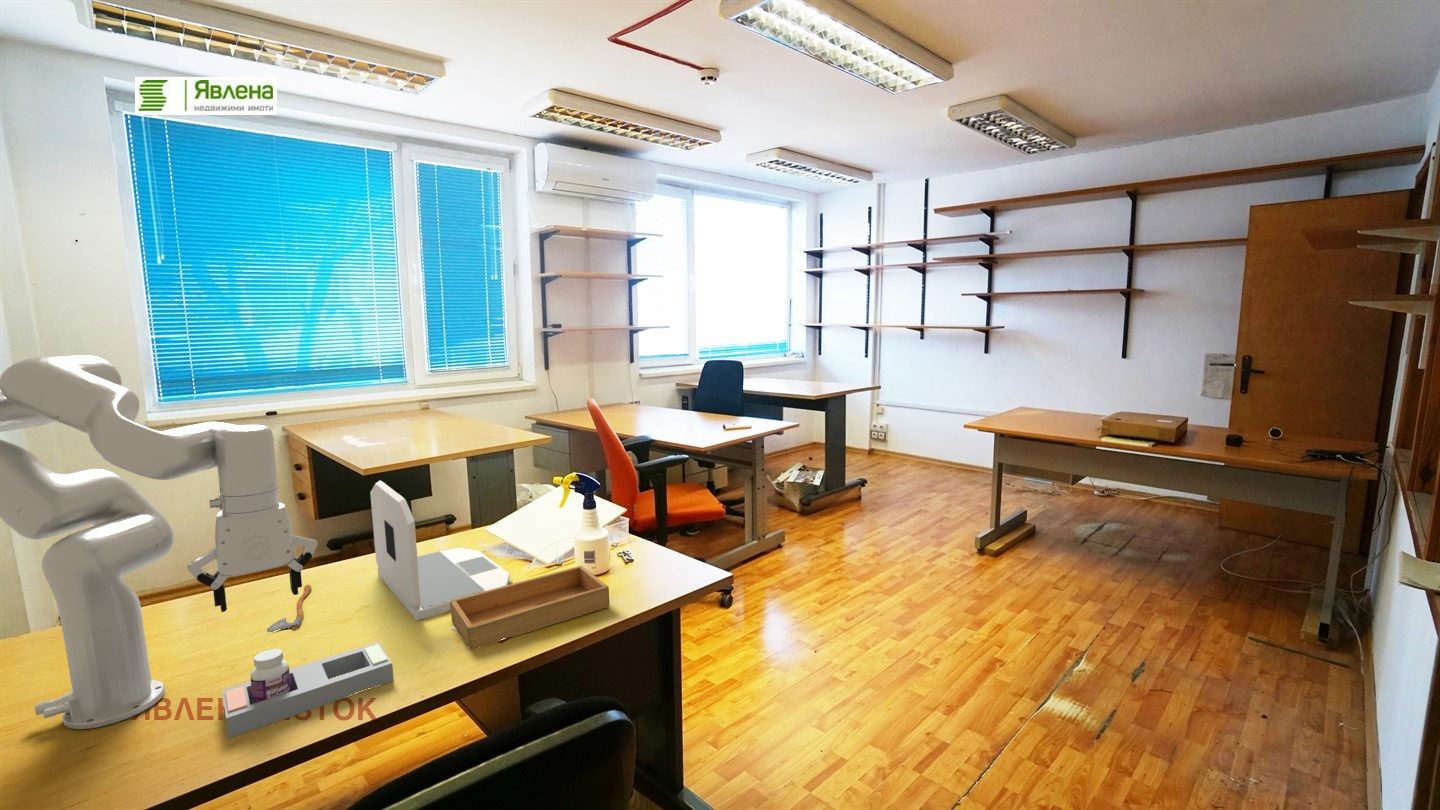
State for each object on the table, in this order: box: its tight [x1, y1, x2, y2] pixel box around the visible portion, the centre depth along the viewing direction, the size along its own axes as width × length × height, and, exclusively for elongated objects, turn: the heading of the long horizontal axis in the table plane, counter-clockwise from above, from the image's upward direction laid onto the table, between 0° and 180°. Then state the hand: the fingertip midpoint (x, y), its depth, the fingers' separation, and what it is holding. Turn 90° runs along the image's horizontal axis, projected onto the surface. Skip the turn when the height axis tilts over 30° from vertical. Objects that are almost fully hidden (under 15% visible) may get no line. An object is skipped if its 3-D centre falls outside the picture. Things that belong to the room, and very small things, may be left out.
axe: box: [266, 584, 312, 633], centre depth 143 cm, size 22×6×2 cm, turn 27°
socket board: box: [221, 641, 395, 739], centre depth 111 cm, size 24×10×4 cm, turn 131°
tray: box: [450, 565, 611, 651], centre depth 140 cm, size 31×15×6 cm, turn 126°
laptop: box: [370, 480, 511, 621], centre depth 156 cm, size 33×24×26 cm
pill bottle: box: [250, 648, 291, 704], centre depth 107 cm, size 5×5×10 cm
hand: (260, 600), depth 105 cm, fingers open, 9 cm apart
